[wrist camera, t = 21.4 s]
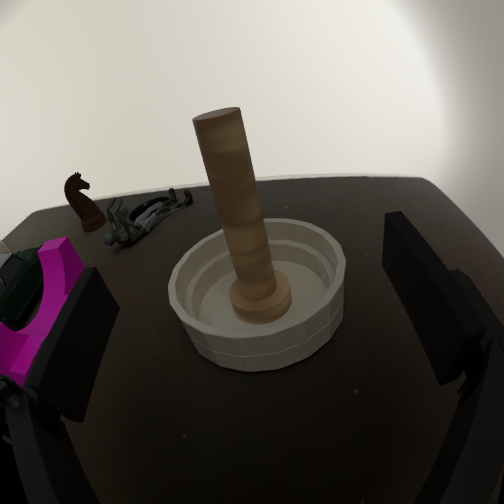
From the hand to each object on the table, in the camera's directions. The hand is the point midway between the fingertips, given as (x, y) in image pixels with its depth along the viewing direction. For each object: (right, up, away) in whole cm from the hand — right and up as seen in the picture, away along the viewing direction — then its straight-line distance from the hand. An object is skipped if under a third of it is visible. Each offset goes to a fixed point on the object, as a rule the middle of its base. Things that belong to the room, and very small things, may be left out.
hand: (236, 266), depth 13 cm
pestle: (+1, -4, +12) cm, 12 cm away
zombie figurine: (-14, +4, +29) cm, 32 cm away
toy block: (-18, -8, +13) cm, 24 cm away
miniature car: (-31, -7, +19) cm, 37 cm away
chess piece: (-27, +5, +35) cm, 44 cm away
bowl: (+2, -4, +12) cm, 13 cm away
